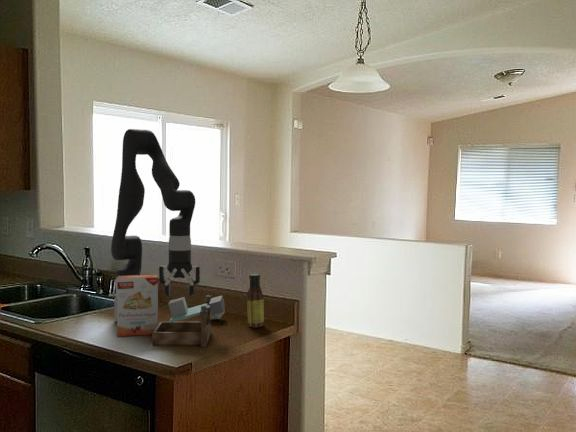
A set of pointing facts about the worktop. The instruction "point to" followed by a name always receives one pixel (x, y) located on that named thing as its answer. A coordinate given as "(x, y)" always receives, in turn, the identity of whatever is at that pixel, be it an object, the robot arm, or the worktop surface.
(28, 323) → the worktop surface
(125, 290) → the cracker box
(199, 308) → the trapdoor
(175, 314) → the gray cube
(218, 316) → the grey white rough lump
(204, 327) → the frame
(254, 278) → the sauce bottle
